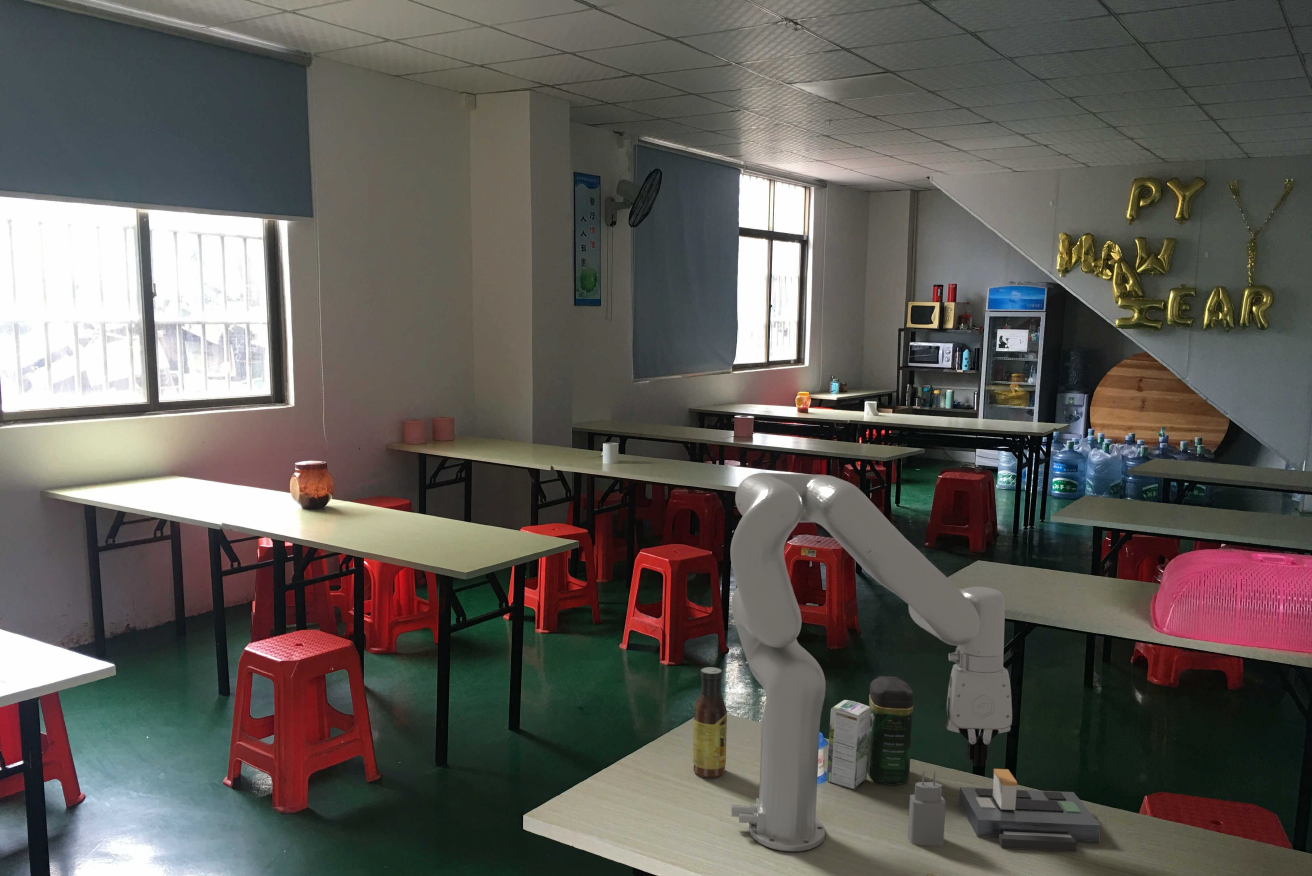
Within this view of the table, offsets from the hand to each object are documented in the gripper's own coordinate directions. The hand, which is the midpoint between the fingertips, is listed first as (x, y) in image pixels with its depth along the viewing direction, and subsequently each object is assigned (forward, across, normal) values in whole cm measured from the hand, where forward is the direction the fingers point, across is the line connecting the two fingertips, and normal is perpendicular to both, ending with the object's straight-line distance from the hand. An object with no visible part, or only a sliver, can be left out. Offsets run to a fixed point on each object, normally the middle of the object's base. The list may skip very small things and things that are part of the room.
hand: (976, 762), depth 169 cm
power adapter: (+10, -10, -8) cm, 17 cm away
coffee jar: (+10, -12, +16) cm, 22 cm away
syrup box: (+10, -20, +13) cm, 26 cm away
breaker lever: (+7, +5, 0) cm, 8 cm away
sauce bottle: (+9, -46, +14) cm, 49 cm away
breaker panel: (+10, +9, 0) cm, 14 cm away
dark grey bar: (+10, +8, -9) cm, 16 cm away
